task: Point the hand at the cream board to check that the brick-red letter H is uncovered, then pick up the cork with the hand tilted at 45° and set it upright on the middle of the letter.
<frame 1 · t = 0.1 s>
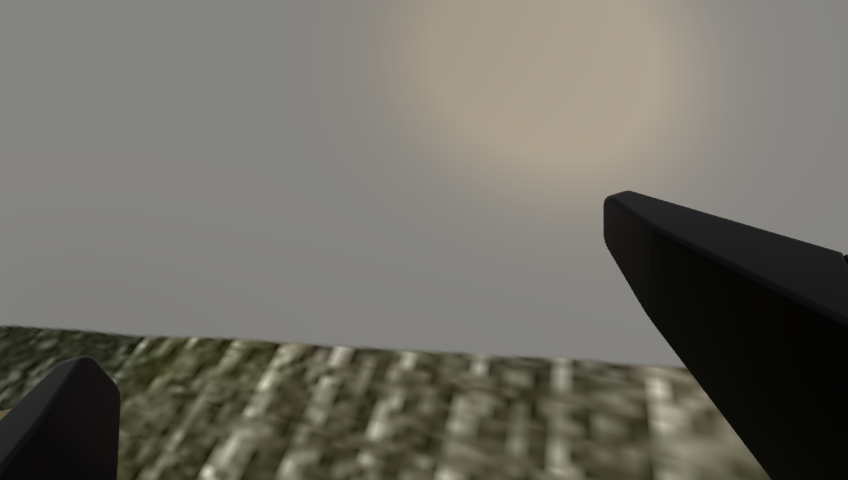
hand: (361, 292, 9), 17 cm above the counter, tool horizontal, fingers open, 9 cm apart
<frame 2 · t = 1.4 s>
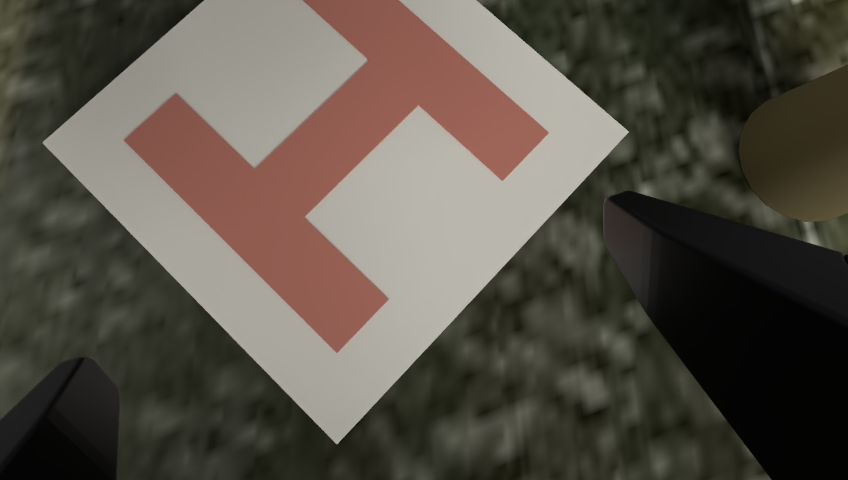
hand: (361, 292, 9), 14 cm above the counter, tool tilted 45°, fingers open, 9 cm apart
cork: (802, 157, 24), on the counter
letter board: (340, 142, 24), on the counter
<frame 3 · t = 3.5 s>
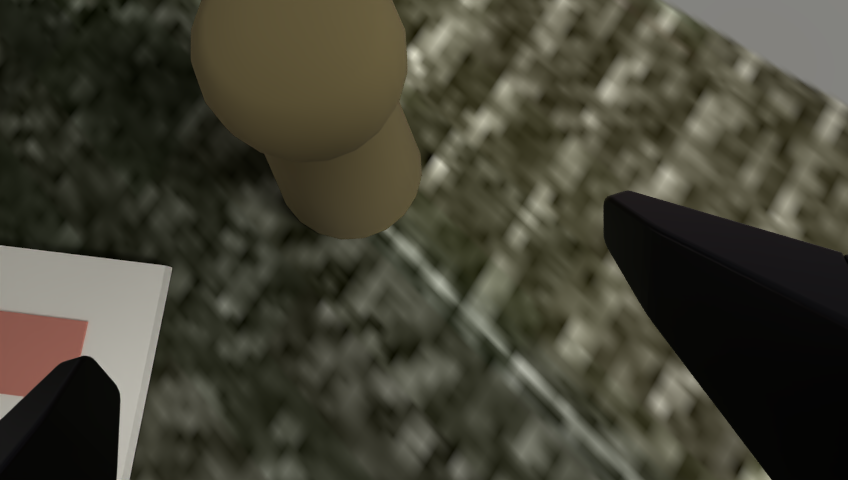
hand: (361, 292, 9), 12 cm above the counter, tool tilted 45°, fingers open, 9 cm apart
cork: (350, 170, 23), on the counter
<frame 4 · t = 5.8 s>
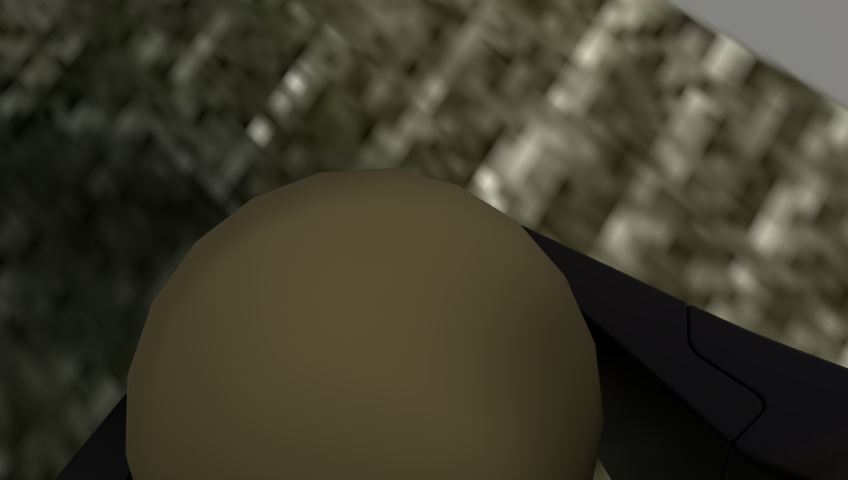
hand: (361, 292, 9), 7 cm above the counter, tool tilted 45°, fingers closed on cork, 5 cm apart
cork: (399, 353, 16), on the counter, touching gripper
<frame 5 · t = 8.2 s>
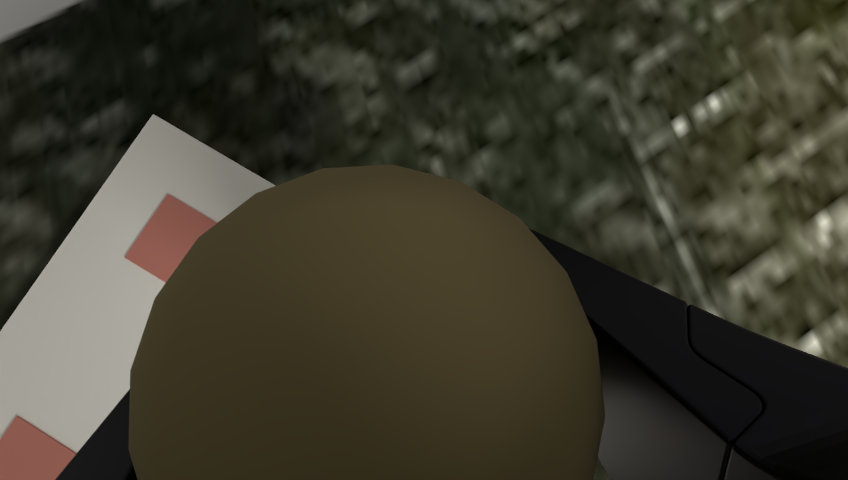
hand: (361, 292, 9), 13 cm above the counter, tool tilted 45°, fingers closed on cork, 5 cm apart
cork: (399, 351, 16), point 6 cm above the counter, touching gripper
letter board: (219, 419, 21), on the counter
when the fingers open (8 cm above the counter, at t = 10.6 s): cork drops 1 cm, resting on letter board.
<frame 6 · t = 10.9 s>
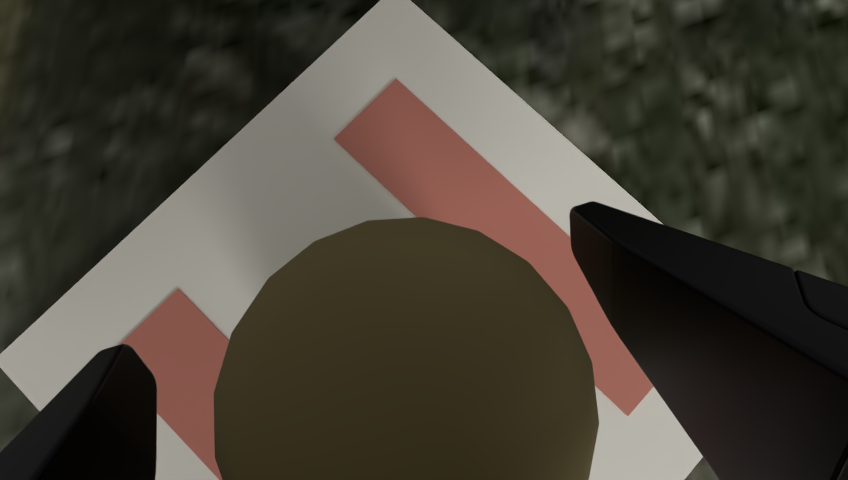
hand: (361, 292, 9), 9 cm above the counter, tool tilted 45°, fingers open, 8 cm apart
cork: (401, 354, 17), point 1 cm above the counter, touching letter board
letter board: (400, 350, 18), on the counter
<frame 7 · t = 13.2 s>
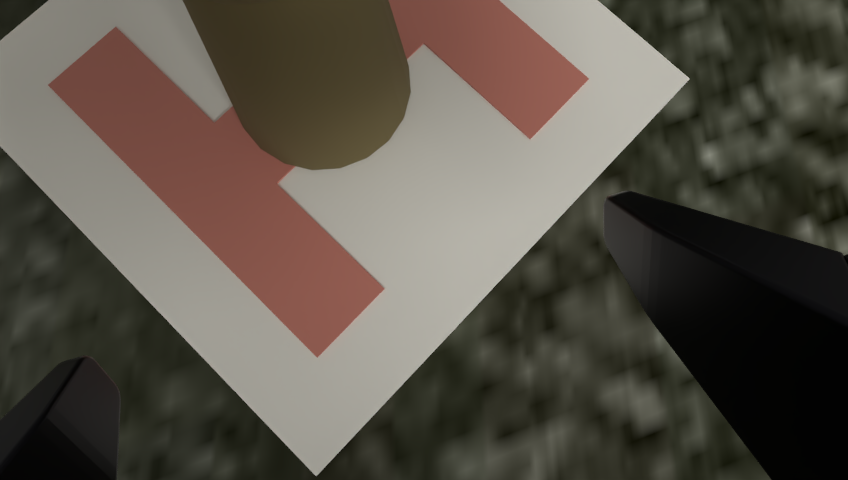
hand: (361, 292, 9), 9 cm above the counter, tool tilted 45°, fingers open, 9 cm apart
cork: (323, 87, 18), point 1 cm above the counter, touching letter board
letter board: (324, 90, 19), on the counter
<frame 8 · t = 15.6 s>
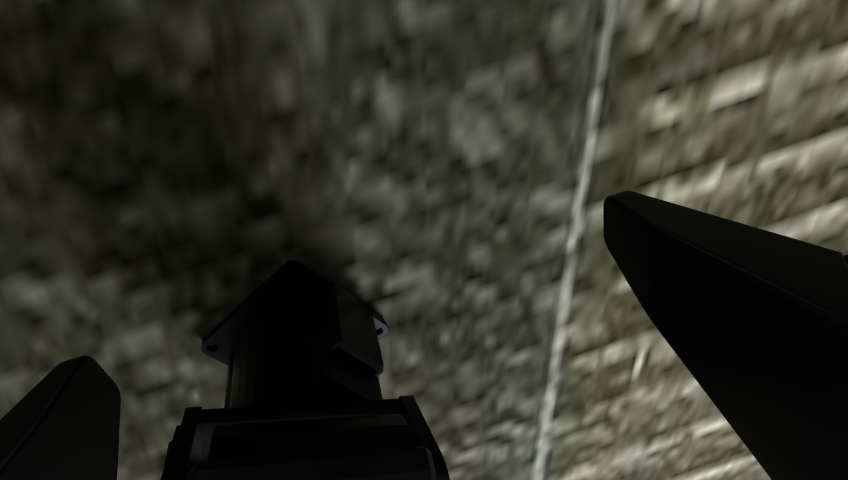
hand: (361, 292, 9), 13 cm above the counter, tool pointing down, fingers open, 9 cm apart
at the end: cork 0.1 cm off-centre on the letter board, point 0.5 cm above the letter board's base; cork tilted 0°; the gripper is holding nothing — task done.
